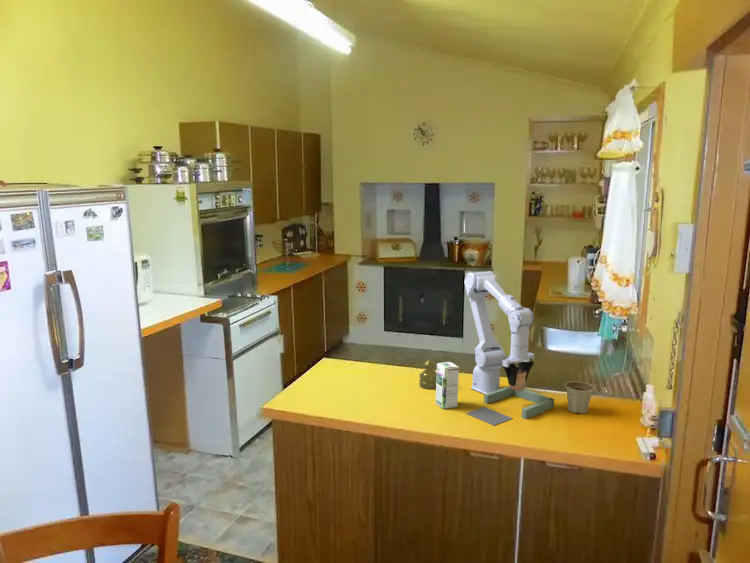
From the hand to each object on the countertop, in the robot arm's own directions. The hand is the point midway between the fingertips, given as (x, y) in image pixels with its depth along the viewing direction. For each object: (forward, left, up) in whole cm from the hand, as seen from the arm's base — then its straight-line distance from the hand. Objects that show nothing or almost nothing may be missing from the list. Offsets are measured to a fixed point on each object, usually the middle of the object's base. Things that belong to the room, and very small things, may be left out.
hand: (517, 383), depth 192 cm
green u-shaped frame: (0, +1, -8) cm, 8 cm away
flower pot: (+15, +13, -8) cm, 22 cm away
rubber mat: (0, -14, -8) cm, 16 cm away
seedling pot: (0, 0, -2) cm, 2 cm away
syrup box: (-15, -19, -8) cm, 25 cm away
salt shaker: (-32, -11, -8) cm, 35 cm away
